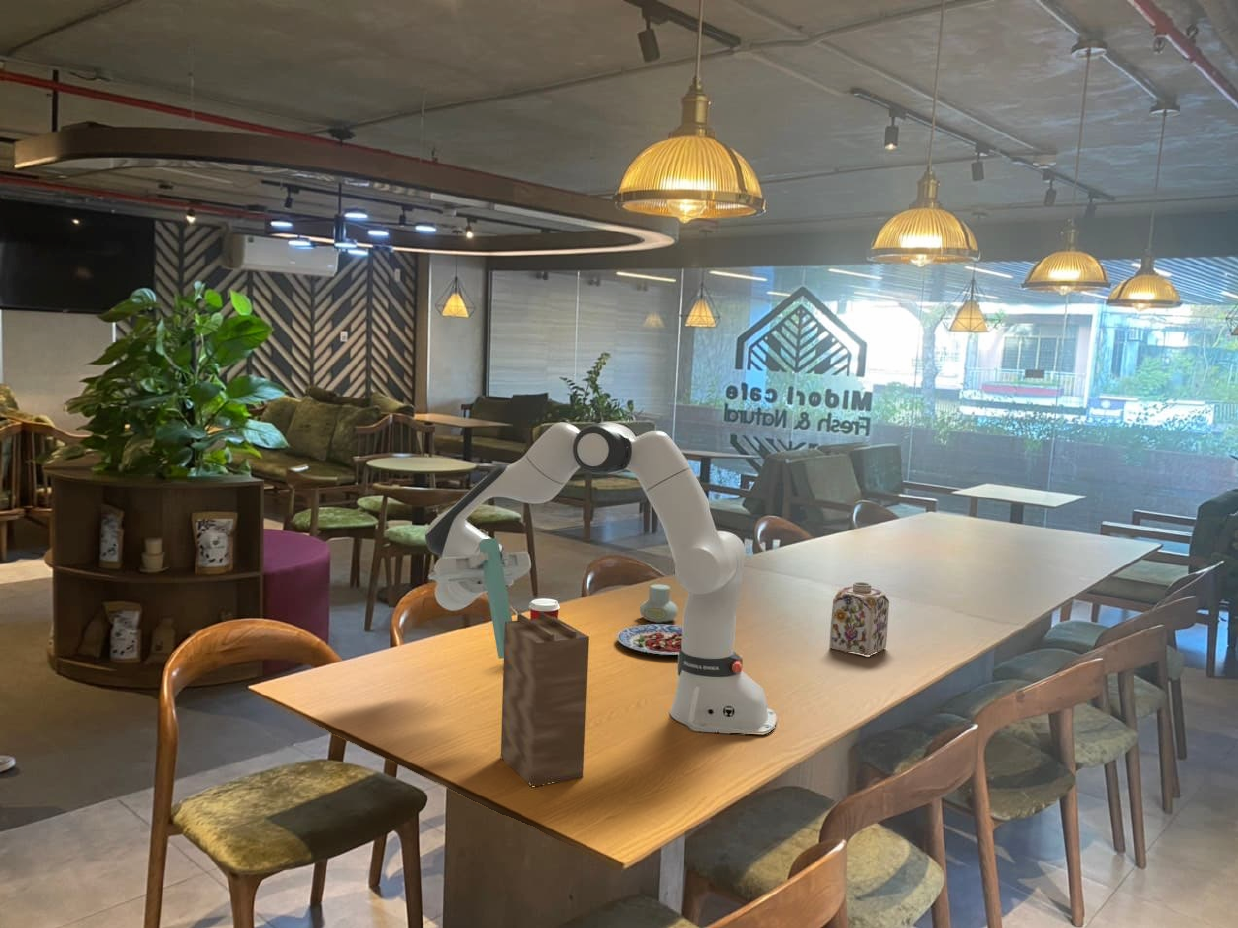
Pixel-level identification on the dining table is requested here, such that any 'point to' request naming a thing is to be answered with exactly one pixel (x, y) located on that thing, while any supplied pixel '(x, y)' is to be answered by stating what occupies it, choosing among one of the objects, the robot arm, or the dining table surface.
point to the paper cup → (544, 608)
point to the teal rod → (496, 591)
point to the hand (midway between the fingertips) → (495, 555)
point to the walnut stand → (544, 699)
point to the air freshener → (659, 605)
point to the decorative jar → (859, 620)
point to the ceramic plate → (653, 639)
